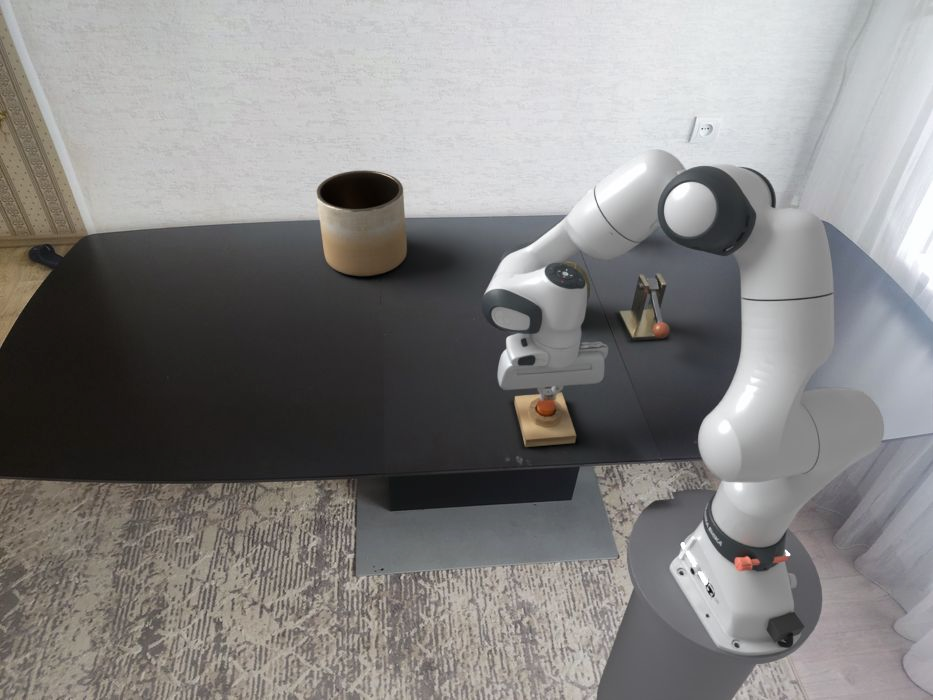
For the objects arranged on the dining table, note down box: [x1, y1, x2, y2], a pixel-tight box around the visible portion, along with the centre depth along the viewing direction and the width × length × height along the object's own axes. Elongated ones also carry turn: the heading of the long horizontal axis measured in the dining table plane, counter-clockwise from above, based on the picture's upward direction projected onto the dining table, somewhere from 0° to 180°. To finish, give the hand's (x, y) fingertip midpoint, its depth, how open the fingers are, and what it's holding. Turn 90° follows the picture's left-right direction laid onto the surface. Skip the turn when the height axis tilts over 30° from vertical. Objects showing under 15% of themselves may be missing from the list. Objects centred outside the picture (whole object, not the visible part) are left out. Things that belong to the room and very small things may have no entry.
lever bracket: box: [618, 273, 667, 342], centre depth 153 cm, size 10×8×14 cm
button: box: [537, 400, 555, 417], centre depth 131 cm, size 4×4×2 cm
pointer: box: [646, 277, 671, 339], centre depth 148 cm, size 14×4×4 cm, turn 7°
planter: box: [316, 169, 408, 277], centre depth 172 cm, size 22×22×20 cm
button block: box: [514, 392, 577, 448], centre depth 133 cm, size 12×10×4 cm
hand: (547, 398), depth 129 cm, fingers closed
